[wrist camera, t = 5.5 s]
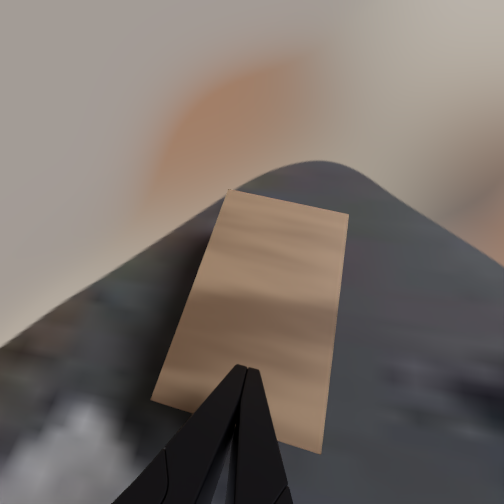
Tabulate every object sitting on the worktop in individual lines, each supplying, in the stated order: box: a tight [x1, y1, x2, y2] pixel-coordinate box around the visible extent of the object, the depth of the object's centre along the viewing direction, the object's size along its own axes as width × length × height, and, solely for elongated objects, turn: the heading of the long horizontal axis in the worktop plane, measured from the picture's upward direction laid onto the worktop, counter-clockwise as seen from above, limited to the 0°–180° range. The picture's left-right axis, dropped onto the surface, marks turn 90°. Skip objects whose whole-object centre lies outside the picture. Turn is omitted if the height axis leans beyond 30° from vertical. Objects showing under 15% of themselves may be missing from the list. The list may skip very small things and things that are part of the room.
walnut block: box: [150, 189, 349, 454], centre depth 14 cm, size 5×7×11 cm
